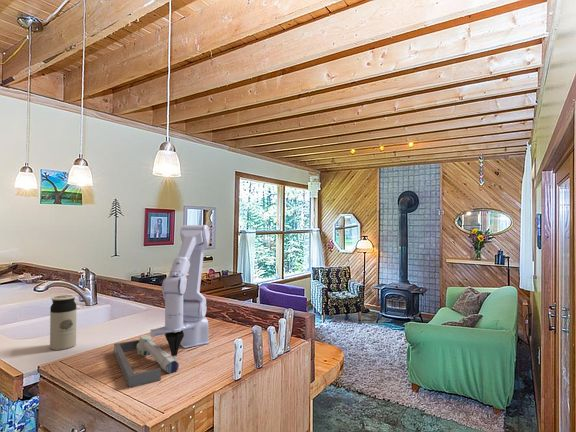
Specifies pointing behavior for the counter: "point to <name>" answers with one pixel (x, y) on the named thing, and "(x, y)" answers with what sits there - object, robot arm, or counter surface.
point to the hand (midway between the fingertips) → (174, 355)
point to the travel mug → (63, 322)
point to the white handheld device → (157, 354)
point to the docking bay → (127, 370)
